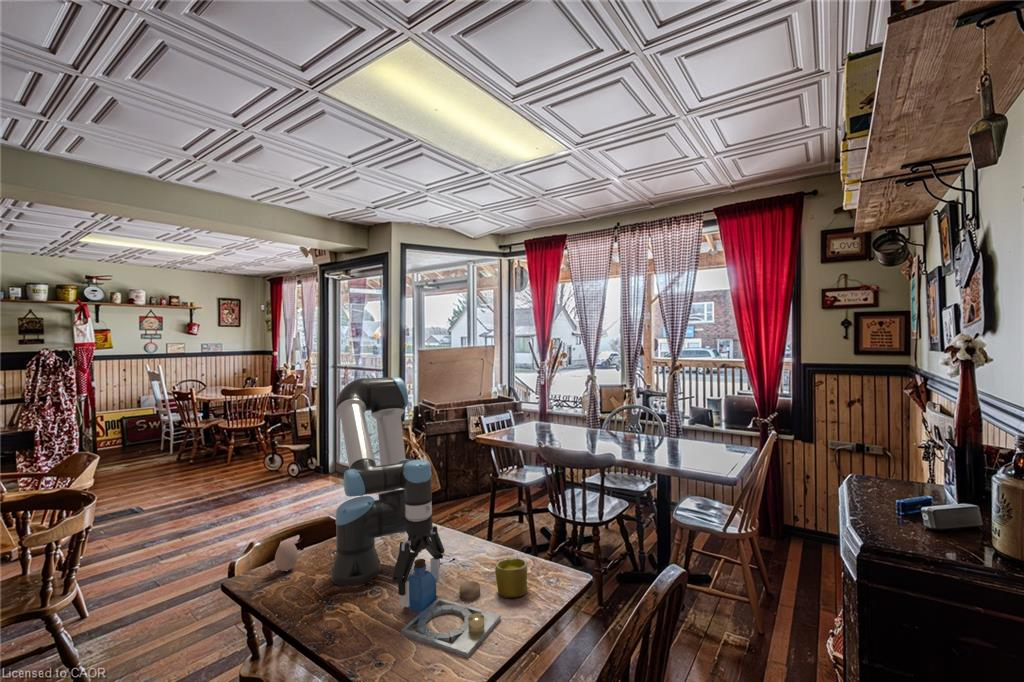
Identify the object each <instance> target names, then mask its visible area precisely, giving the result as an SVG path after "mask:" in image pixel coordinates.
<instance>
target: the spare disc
mask: <svg viewBox="0 0 1024 682" xmlns="http://www.w3.org/2000/svg"><path fill="white" fill-rule="evenodd" d="M458 588H459V593H458V594H459V598H460V599H461V600H463V601H464V600H465V601H473V600H475V599H478V598H479V597H480V596H481V584H480V583H479V582H478V581H475V580H466V581H464V582H462V583H460V584H459V587H458Z"/></svg>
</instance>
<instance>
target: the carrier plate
mask: <svg viewBox="0 0 1024 682" xmlns="http://www.w3.org/2000/svg"><path fill="white" fill-rule="evenodd" d="M447 614H448V615H449V614H453V615H457V616H460V617H461V618H462V619H463V621H464V622H463V623H462V624H461V625H460V626H459V628H456V629H455V630H452V631H451V630H450V631H449V632H435V631H432V630H430V629H429V628H428V627H427V624H428V623H429V622H431V620H432V619H433V618H435V617H438V616H440V615H447ZM501 617H502V616H501V614H498V613H495V612H491V611H487V610H484V609H481V608H476V607H473V606H469V605H466V604H462V603H459V602H455V601H452V600H448V599H444V598H441V597H438V598H436V600H435V601H434V602H433V603H432V604H431V605H429V606H428V607H427V608H426V609H425V610H424V611H422V612H421V613H419V614H418V615H416V616H415V617H414V618H413V619H412V620H410V621H409V623H407V624H406V625H405V626H403V627H402V628H401V629H400V636H402V637H405V638H408V639H411V640H414V641H416V642H420V643H422V644H425V645H428V646H431V647H434V648H436V649H440V650H442V651H444V652H445V651H446V652H448V653H451V654H455V655H457V656H460V657H463V658H466V659H469V658H470V656H471V655H473V653H474V651H476V650H477V648H478V647H479V646H480V644H482V643H483V641H484V640H485V639H486V638H487V637H488V635H489V634H490V633H491V632H492V631H493V630H494V628H495V627H496V626H497V624H499V622H500V621H501V619H502V618H501ZM415 627H416V631H417V632H416V631H413V630H412V629H414V628H415Z"/></svg>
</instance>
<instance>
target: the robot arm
mask: <svg viewBox="0 0 1024 682" xmlns="http://www.w3.org/2000/svg"><path fill="white" fill-rule="evenodd" d="M408 405H409V392H408V389H407V386H406V383H405V381H404V380H403V378H401V377H399V376H397V377H396V376H395V377H393V376H386V377H373V378H372V377H371V378H369V377H368V378H357V379H354V380H352V381H350V382H349V383H347V385H345V386H344V387H343V388H342V389H341V391H340V392H339V394H338V396H337V399H336V403H335V410H336V415H337V417H338V418H339V419H340V422H341V428H342V432H343V438H344V439H343V440H344V445H345V451H346V457H347V464H348V469H347V470H345V471H344V472H343V488H344V494H345V496H347V497H349V498H350V499H348V500H346V501H344V502H342V503H341V504H340V505H339V506H338V507H337V509H336V512H335V513H336V515H335V525H336V526H335V527H336V528H335V529H336V531H335V533H336V540H335V541H336V554H335V557H334V561H333V566H332V568H331V571H330V580H331V582H332V581H333V582H334V583H333V582H332V583H333V584H335V583H336V584H335V585H337V584H339V585H338V586H341V585H344V586H343V587H349V586H348V585H352V586H357V585H361V584H364V583H367V582H370V581H371V580H373V578H374V579H375V578H376V577H378V575H379V574H380V573H381V570H382V566H381V565H382V564H381V559H380V558H379V554H378V551H377V549H376V545H375V541H376V540H375V539H377V538H381V537H386V536H391V535H396V534H401V533H406V535H407V536H408V537H407V541H405V542H404V541H401V542H400V543H399V549H398V550H399V552H398V555H397V558H396V563H395V567H394V570H393V574H392V579H391V582H392V583H395V584H398V585H397V591H398V596H399V606H401V607H405V608H407V607H409V581H407V579H408V577H409V575H410V574H411V570H412V568H413V566H414V561H415V559H416V558H417V557H418V556H419V553H421V552H422V551H423V550H426V551H427V552H428V553H429V555H430V556H431V558H430V560H429V561H430V562H429V564H430V572H431V574H432V575H433V577H434V578H435V579H436V584H439V583H440V582H441V576H440V575H441V574H440V572H441V571H440V568H441V560H442V559H443V557H444V554H445V548H444V546H443V543H442V540H441V538H440V535H439V533H438V526H436V525H433V516H432V515H433V508H432V507H433V506H432V505H433V504H432V502H433V501H432V500H433V495H432V493H433V492H432V491H433V490H432V474H433V473H432V467H431V462H430V461H429V460H425V459H412V460H411V459H408V458H406V452H405V443H404V434H403V425H402V415H403V414H404V413H405V408H407V407H408ZM367 411H371V413H370V414H371V417H373V419H375V420H376V428H377V430H376V431H377V442H378V443H377V444H378V450H379V451H378V454H379V463H380V465H377V464H376V459H375V455H374V450H373V446H372V442H371V437H370V433H369V429H368V428H369V427H368V424H367V420H366V415H365V413H366V412H367ZM375 493H376V494H377V493H378V499H374V498H373V496H371V494H375ZM351 497H352V498H351Z"/></svg>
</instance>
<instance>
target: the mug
mask: <svg viewBox="0 0 1024 682" xmlns="http://www.w3.org/2000/svg"><path fill="white" fill-rule="evenodd" d="M495 578H496V585H497V591H498V594H499V595H500V596H501V597H504V598H507V599H511V598H512V599H513V598H517V597H521V596H524V595H526V594H527V591H528V564H527V562H526V561H525V560H524V559H523V558H516V556H509V557H508V558H506V559H502V560H499V561H497V563H496V564H495Z"/></svg>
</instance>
